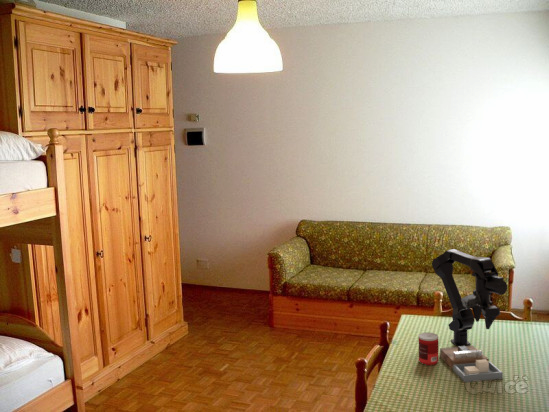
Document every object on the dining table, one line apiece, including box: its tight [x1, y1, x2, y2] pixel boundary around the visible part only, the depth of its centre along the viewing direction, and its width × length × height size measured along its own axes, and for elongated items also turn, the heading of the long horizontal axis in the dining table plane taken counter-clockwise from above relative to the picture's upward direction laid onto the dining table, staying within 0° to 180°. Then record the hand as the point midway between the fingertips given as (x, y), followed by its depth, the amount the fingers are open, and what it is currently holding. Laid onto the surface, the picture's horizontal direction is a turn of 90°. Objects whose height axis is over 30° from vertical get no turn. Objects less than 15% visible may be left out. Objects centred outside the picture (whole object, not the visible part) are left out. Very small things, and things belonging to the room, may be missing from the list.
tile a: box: [464, 366, 479, 374], centre depth 221 cm, size 4×4×2 cm
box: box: [452, 361, 504, 383], centre depth 223 cm, size 10×15×2 cm, turn 96°
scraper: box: [453, 345, 483, 360], centre depth 232 cm, size 2×11×7 cm
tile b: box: [476, 359, 490, 373], centre depth 224 cm, size 4×4×2 cm
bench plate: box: [439, 345, 490, 370], centre depth 234 cm, size 14×14×4 cm
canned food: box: [418, 331, 439, 366], centre depth 235 cm, size 8×8×11 cm
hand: (482, 325), depth 241 cm, fingers open, 9 cm apart
